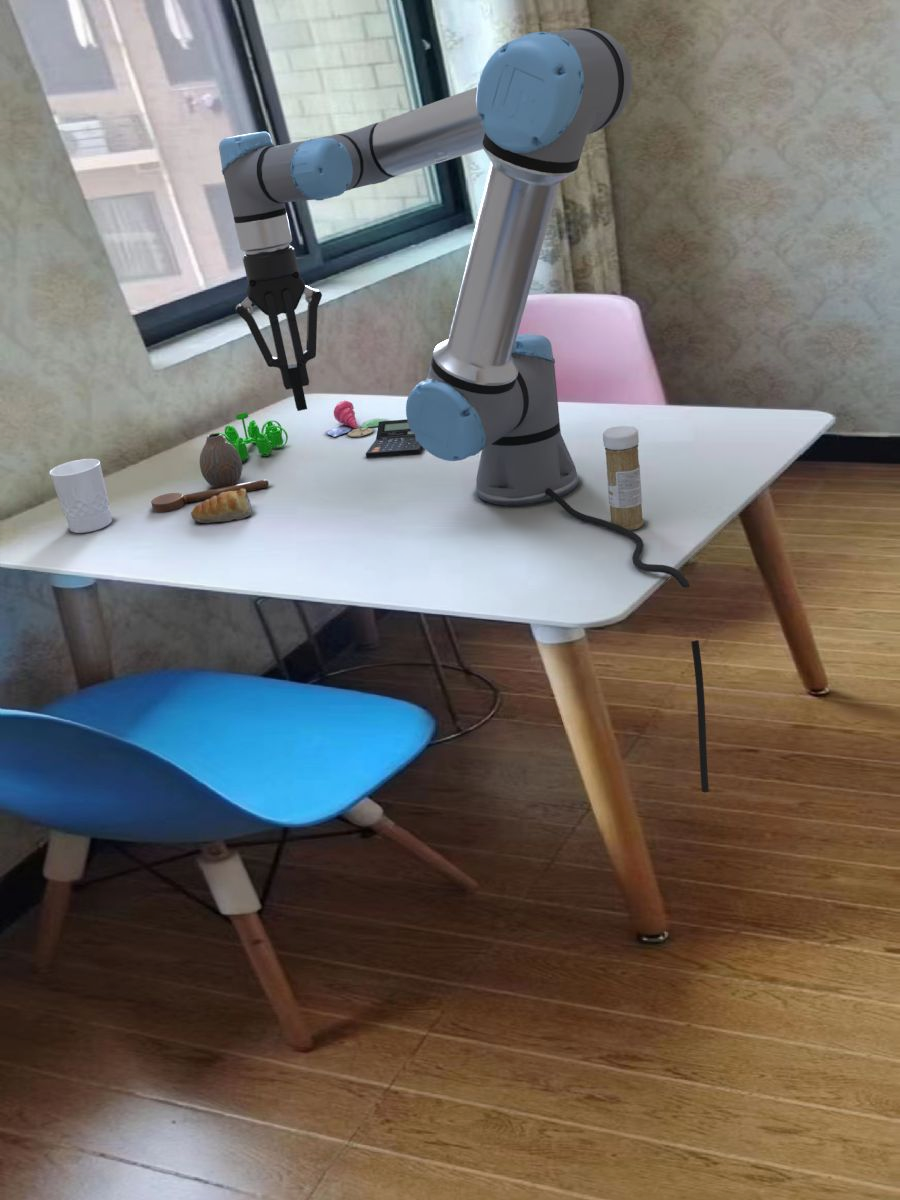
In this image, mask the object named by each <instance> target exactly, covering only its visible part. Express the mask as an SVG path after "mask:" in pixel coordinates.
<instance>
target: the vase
mask: <svg viewBox="0 0 900 1200" xmlns="http://www.w3.org/2000/svg"><path fill="white" fill-rule="evenodd" d="M221 433H222V432H221ZM221 433H216V432H213V433H210V434H208V435H207V436H206V441H205V443H204V444H203V447H202V449H201V452H200V455H199V467H200V472H201V474H202V477H203V479H204V480H205V482H206V483H207V484H208V485H210V486H211V487H213V488H214V489H218V488H223V487H228V486H233V485H237V483H238V482H239V480H240V479H241V476H242V473H243V466H242V465H243V462H241V458H240V455H239V453H238V451H237V450H236V448H235V447H234V446H233V445H232V444H231V443H230V442H228V441H227V440H226V439H225V438H226V437H225V436H223V435H222V434H221Z"/></svg>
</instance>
